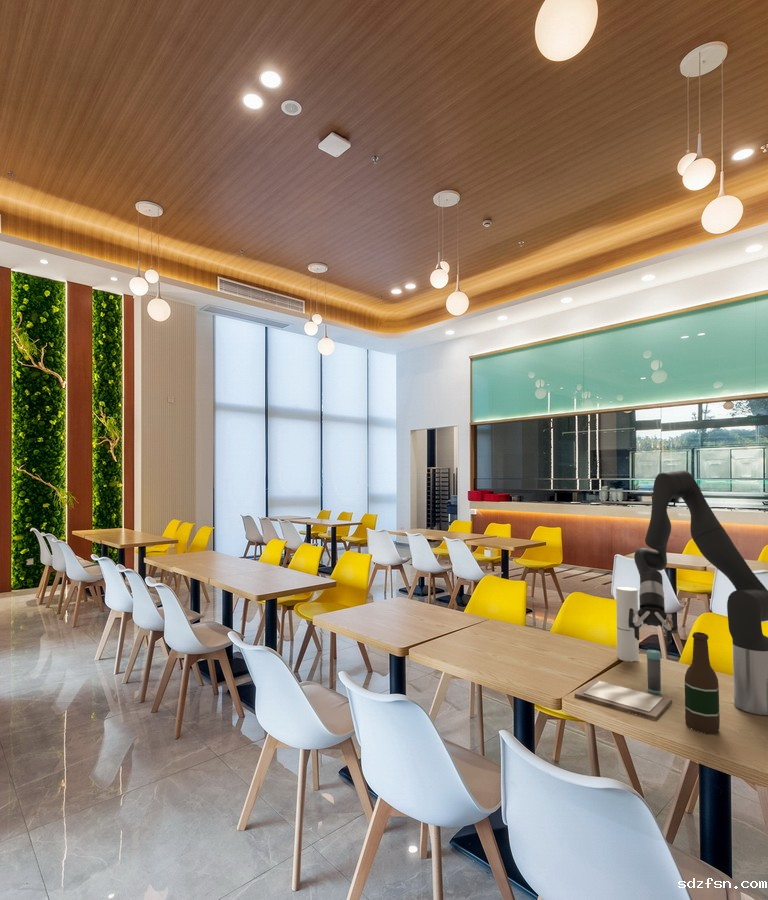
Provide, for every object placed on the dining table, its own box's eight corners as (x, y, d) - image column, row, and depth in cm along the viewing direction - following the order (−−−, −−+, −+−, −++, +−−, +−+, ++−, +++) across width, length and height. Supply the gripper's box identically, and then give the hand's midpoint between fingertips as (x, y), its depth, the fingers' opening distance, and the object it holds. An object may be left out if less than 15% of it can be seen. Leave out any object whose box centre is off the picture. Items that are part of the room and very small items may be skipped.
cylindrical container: (642, 662, 186) (641, 590, 187) (622, 661, 186) (621, 590, 187) (633, 655, 193) (632, 586, 194) (613, 655, 193) (612, 586, 194)
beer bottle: (715, 723, 138) (713, 631, 139) (724, 737, 130) (721, 639, 132) (682, 719, 140) (680, 628, 142) (688, 731, 133) (686, 635, 134)
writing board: (671, 702, 151) (671, 698, 151) (656, 720, 139) (655, 715, 139) (594, 682, 166) (594, 678, 166) (574, 696, 154) (574, 692, 154)
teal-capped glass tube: (662, 691, 159) (662, 651, 159) (659, 695, 156) (658, 654, 157) (649, 688, 161) (648, 648, 162) (645, 692, 158) (645, 651, 159)
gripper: (628, 589, 178) (628, 631, 167) (676, 593, 172) (679, 638, 161) (628, 601, 183) (628, 644, 172) (675, 606, 176) (678, 650, 165)
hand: (653, 641), depth 166 cm, fingers open, 8 cm apart
